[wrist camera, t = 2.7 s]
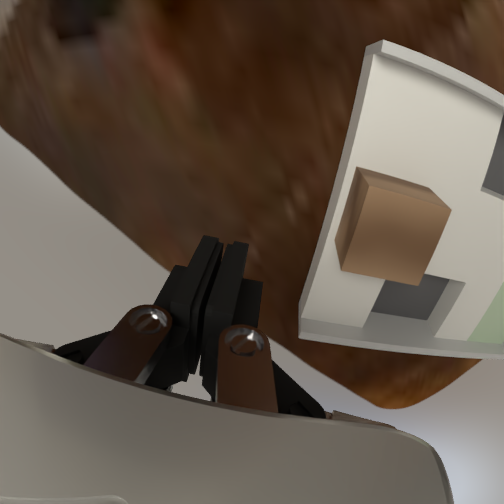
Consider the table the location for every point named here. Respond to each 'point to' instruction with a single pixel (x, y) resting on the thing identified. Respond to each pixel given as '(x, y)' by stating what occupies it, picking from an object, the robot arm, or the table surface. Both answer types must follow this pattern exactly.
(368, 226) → the walnut block
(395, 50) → the box
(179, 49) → the table surface
